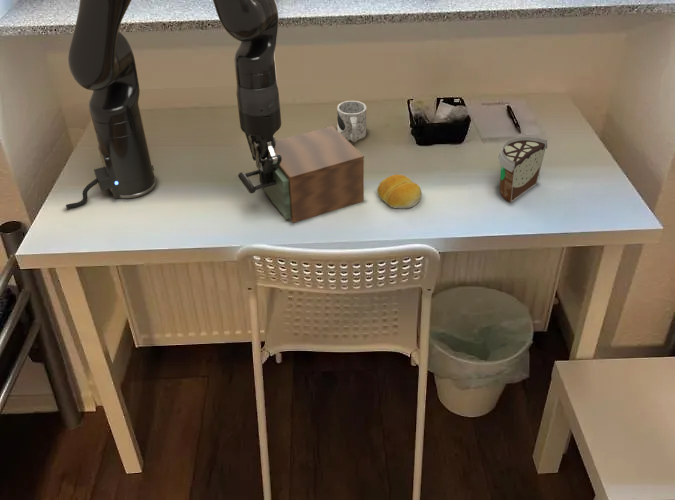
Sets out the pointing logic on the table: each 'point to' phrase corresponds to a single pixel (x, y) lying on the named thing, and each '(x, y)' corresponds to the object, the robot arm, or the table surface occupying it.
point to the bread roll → (399, 191)
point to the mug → (351, 120)
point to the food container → (520, 165)
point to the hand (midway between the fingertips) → (266, 184)
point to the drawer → (272, 190)
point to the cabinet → (321, 172)
